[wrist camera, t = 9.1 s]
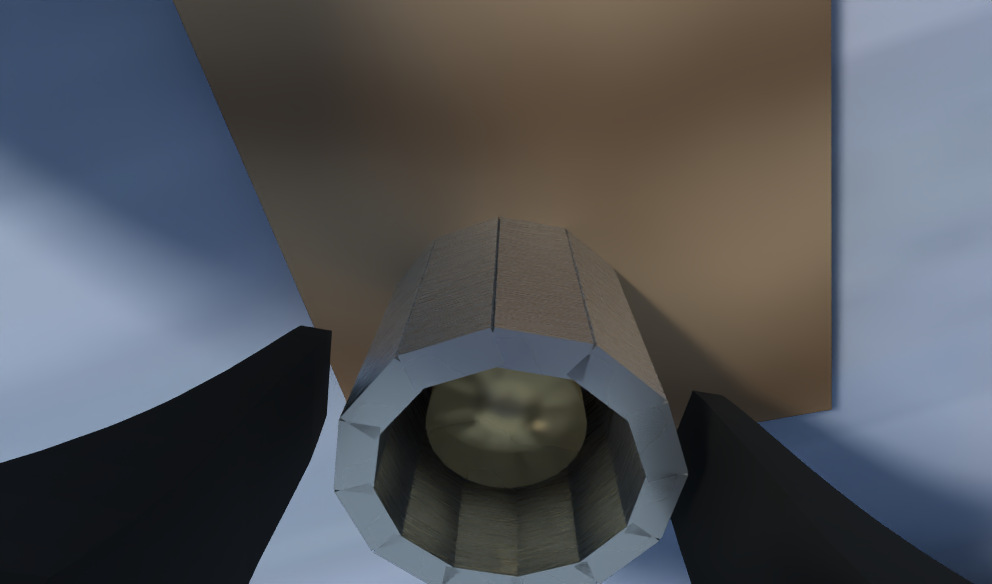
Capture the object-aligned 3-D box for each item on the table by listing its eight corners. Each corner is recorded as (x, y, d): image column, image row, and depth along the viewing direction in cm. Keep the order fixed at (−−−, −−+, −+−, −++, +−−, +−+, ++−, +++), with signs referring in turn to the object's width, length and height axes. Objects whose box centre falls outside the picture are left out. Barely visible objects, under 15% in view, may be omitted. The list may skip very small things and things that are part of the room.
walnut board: (14, -439, 9) (-40, -489, 8) (793, -766, 8) (830, -868, 7) (390, 462, 17) (383, 487, 16) (813, 386, 16) (831, 409, 15)
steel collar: (406, 199, 13) (347, 302, 8) (655, 243, 13) (733, 367, 8) (382, 406, 15) (327, 575, 10) (593, 439, 15) (627, 617, 11)
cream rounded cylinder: (430, 292, 14) (405, 376, 10) (555, 265, 13) (570, 344, 10) (463, 395, 15) (450, 498, 12) (580, 373, 14) (598, 473, 11)
